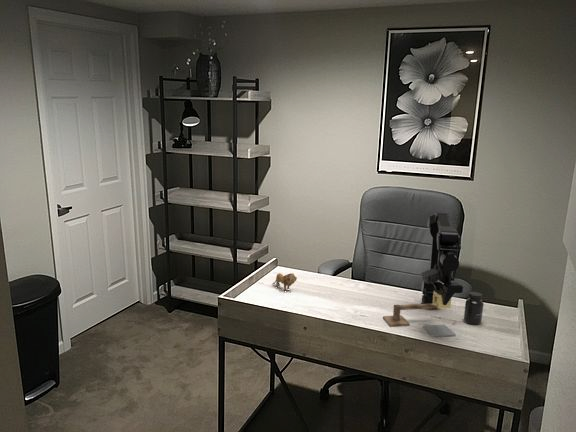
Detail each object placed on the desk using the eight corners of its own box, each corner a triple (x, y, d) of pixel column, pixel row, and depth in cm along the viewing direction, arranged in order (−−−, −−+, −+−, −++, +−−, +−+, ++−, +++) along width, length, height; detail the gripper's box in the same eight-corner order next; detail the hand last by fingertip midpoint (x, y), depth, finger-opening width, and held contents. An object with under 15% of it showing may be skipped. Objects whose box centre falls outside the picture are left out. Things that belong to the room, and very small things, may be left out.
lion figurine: (298, 291, 222) (298, 273, 220) (290, 294, 219) (290, 275, 217) (276, 283, 232) (276, 265, 230) (268, 286, 228) (268, 268, 227)
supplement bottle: (479, 326, 189) (482, 298, 187) (461, 322, 193) (464, 294, 190) (482, 320, 195) (486, 293, 193) (465, 316, 199) (468, 289, 196)
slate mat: (444, 325, 189) (444, 324, 189) (455, 336, 181) (455, 334, 181) (423, 326, 188) (423, 325, 188) (433, 337, 179) (433, 335, 179)
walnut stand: (430, 316, 198) (431, 300, 197) (439, 324, 191) (440, 308, 189) (382, 318, 195) (384, 302, 194) (390, 326, 187) (391, 310, 186)
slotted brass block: (444, 303, 185) (445, 290, 184) (450, 308, 180) (451, 294, 179) (432, 304, 184) (433, 290, 183) (437, 308, 180) (439, 294, 179)
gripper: (414, 256, 186) (411, 294, 190) (436, 271, 168) (433, 313, 172) (441, 255, 188) (437, 293, 191) (466, 270, 170) (461, 312, 173)
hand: (441, 302), depth 182 cm, fingers closed on slotted brass block, 5 cm apart
